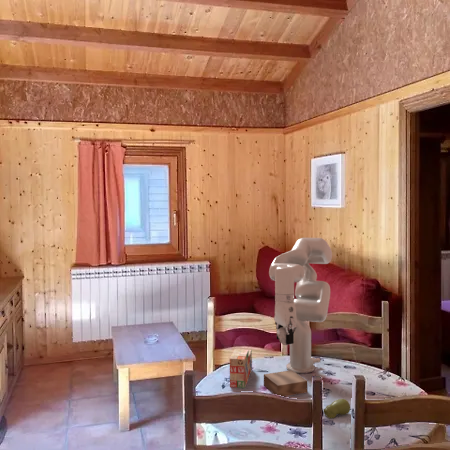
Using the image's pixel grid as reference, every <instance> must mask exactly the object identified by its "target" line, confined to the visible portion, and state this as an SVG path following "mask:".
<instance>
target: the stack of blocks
mask: <svg viewBox="0 0 450 450" xmlns="http://www.w3.org/2000/svg"><path fill="white" fill-rule="evenodd" d="M252 355H253V354H252V349H243V348H240V349H239V348H234V350H233V352H232V354H231V355H230V357H229V388H238V389H239V388H240V389H246V386H247V383H248V382H249V378H250V376H249V375H251V374H250V373H252V371H253V356H252Z"/></svg>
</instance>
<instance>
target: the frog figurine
mask: <svg viewBox="0 0 450 450" xmlns="http://www.w3.org/2000/svg"><path fill="white" fill-rule="evenodd" d="M286 334H287V332H286V327H281V328H280V329H278V330H277V329H276V337H277V336H278V338H279V342H280V344H282V345H284V346H288V345H289V346H290V344H288V345H287V344H286Z"/></svg>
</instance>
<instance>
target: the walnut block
mask: <svg viewBox="0 0 450 450" xmlns="http://www.w3.org/2000/svg"><path fill="white" fill-rule="evenodd" d="M263 386H264V387H265V388H266V389H267V390H268V391H270V393H272V394H273V395H274V394H277V395H281V396H284V397H289V396H295V395H301V394H306V393H308V392H309V391H308V380H307V379H306V378H304V377H303V376H301V375H300V374H299V373H295V372H294V371H292V370H284V371H278V372H270V373H264V374H263Z"/></svg>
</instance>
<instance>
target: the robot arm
mask: <svg viewBox="0 0 450 450" xmlns="http://www.w3.org/2000/svg"><path fill="white" fill-rule="evenodd" d="M332 258H333V251H332V248H331V247H330V245H329V244H328V241H327V240H326V239H324V238H323V237H300V238H299V239H297V240H296V241H295V243H294V245H293V247H292V248H291V250H289V251H286V252H284V253H281V254H280V255H278V256H276V257H275V258H274V259H273V261H272V263H271V264H270V266H269V271H268V275H269V278H270V280H271V281H274V287H275V288H274V291H275V292H274V293H275V295H274V301H275V302H274V303H275V304H274V317H273V320H274V322H275V323H274V324H275V329H276V331H277V330H278V329H280V328H281V327H285V328H286V332H287V334H286V344H287V345H286V346H288V344H289V362H288V363H287V364H286V365H285V366H286V369H287V371H289V370H292V371H294V372H295V373H297V374H307V373H311V372H313V371H315V369H316V367H315V364H318V363H321V358H320V357H317V358H315V357H312V330H311V327H310V325H309V324H308V322H313V323H315V322H316V323H322V322H325V321H326V319H327V316H328V310H329V304H330V300H331V299H330V298H331V287H330V284H329V283H328V282H327V281H323V280H317V279H318V275H317V272H316V270H315V269H314V268H313V267H312V266H311V265H310V264H313V265H314V264H317V265H327V264H329V263H330V262H331V261H332ZM295 283H296V285H295ZM295 297H296V298H295ZM276 340H279V338H278V336H277V335H276ZM279 341H280V340H279Z"/></svg>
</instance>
